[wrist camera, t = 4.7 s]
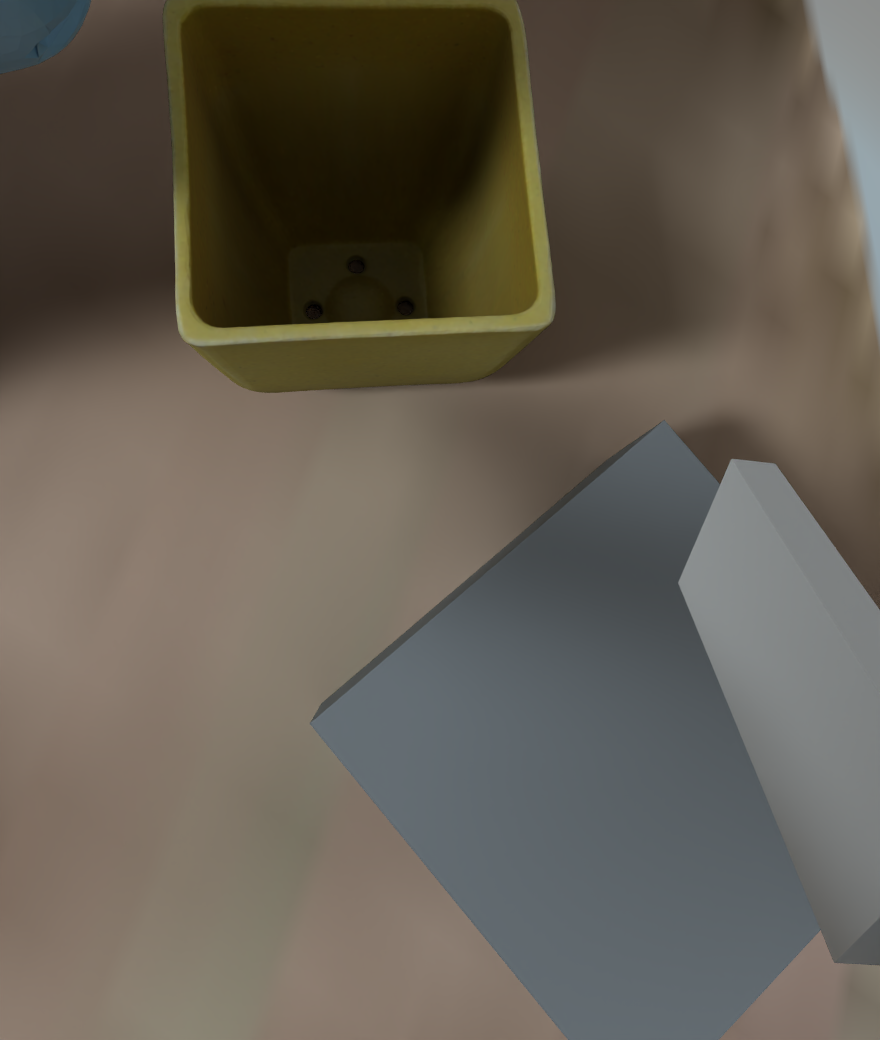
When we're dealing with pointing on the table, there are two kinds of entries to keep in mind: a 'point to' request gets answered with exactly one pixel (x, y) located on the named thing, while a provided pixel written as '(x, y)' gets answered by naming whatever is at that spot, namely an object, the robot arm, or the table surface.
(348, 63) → the flower pot
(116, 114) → the table surface
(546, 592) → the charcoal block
